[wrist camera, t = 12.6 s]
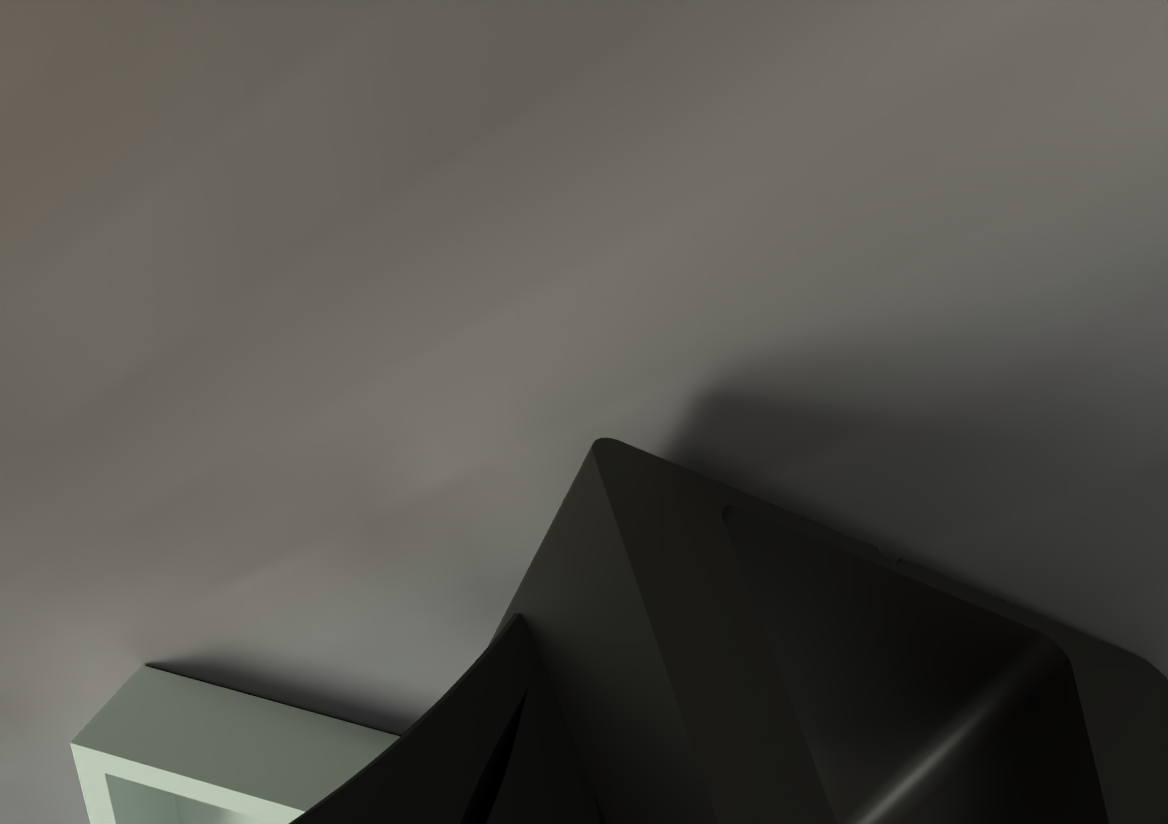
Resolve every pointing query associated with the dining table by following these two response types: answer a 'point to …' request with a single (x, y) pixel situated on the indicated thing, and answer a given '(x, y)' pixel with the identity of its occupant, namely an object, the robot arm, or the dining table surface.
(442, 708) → the robot arm
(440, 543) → the dining table surface
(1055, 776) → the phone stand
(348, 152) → the dining table surface
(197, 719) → the tray
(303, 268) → the dining table surface
